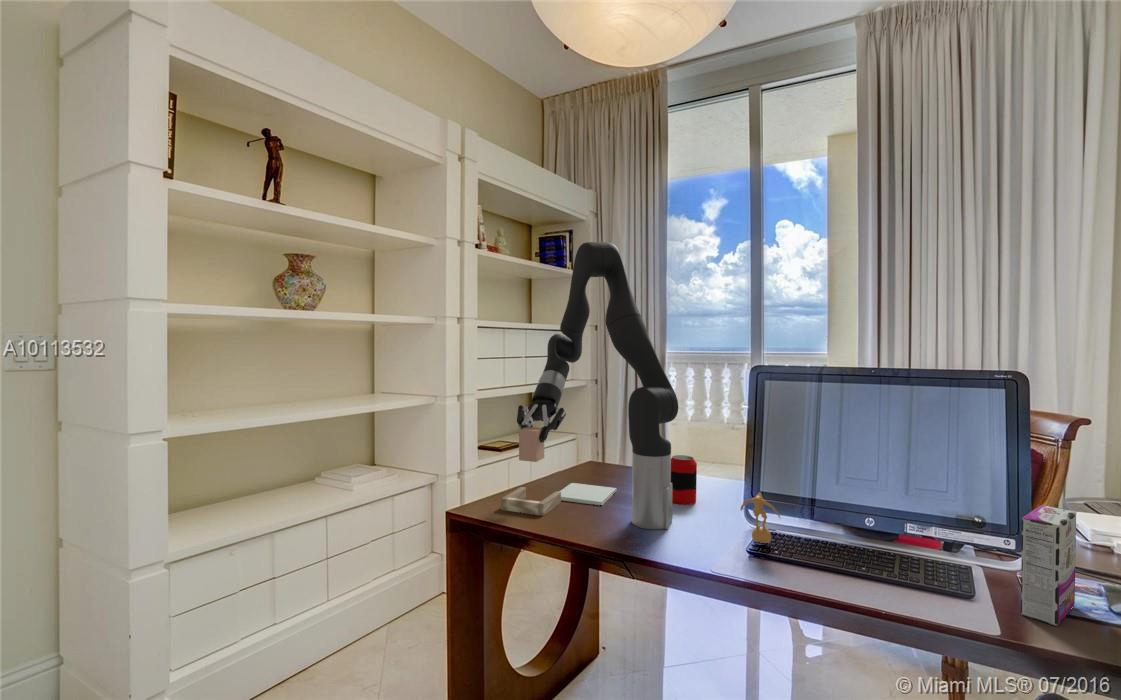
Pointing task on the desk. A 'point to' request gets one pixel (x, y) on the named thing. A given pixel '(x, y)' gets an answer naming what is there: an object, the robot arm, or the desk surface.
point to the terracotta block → (530, 444)
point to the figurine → (759, 532)
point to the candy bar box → (1048, 564)
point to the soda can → (683, 479)
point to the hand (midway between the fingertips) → (531, 439)
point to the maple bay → (529, 502)
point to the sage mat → (587, 493)
